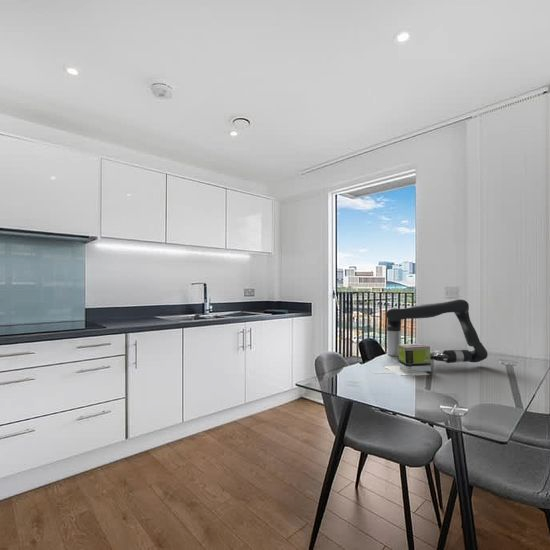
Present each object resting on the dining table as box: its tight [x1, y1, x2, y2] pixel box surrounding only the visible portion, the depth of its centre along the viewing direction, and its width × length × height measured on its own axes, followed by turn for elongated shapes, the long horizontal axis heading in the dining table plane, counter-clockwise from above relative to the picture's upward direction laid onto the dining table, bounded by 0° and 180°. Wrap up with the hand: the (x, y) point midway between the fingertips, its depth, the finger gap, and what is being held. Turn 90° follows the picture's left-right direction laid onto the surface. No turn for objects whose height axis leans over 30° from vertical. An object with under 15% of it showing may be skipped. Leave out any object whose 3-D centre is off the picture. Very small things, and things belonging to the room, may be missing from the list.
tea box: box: [398, 343, 432, 373], centre depth 196 cm, size 15×10×15 cm, turn 92°
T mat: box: [384, 365, 430, 377], centre depth 195 cm, size 20×30×1 cm, turn 96°
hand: (426, 357), depth 197 cm, fingers closed
